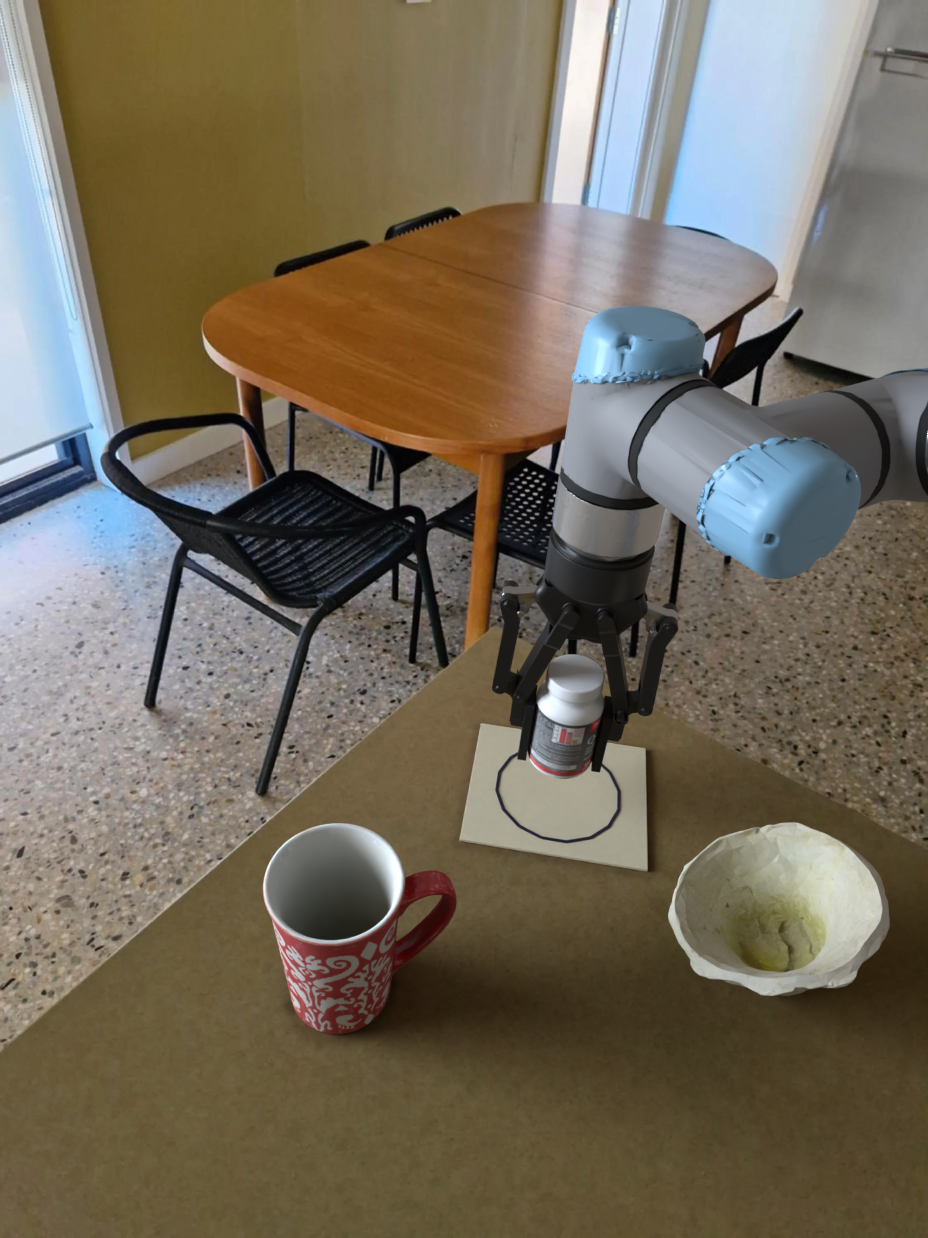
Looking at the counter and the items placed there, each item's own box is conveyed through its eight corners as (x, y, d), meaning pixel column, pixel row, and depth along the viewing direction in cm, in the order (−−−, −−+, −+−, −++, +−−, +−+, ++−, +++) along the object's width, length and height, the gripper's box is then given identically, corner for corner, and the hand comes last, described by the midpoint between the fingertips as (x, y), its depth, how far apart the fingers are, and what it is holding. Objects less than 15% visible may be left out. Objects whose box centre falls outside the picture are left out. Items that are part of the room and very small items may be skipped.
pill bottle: (594, 783, 76) (615, 699, 70) (528, 780, 75) (543, 696, 69) (587, 734, 80) (606, 651, 74) (525, 731, 80) (538, 648, 74)
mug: (278, 1059, 61) (263, 953, 52) (274, 940, 67) (261, 829, 59) (459, 1031, 63) (473, 926, 55) (438, 919, 70) (448, 809, 61)
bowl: (673, 851, 76) (701, 774, 70) (842, 901, 74) (886, 825, 67) (647, 1010, 65) (677, 935, 59) (844, 1077, 62) (898, 1005, 56)
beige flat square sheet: (647, 872, 75) (647, 869, 74) (459, 841, 76) (459, 838, 76) (645, 750, 85) (645, 747, 85) (480, 725, 87) (481, 722, 86)
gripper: (732, 523, 65) (665, 740, 80) (480, 488, 67) (460, 708, 81) (741, 583, 59) (667, 805, 74) (465, 543, 61) (447, 769, 75)
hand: (559, 754), depth 78 cm, fingers closed on pill bottle, 6 cm apart
